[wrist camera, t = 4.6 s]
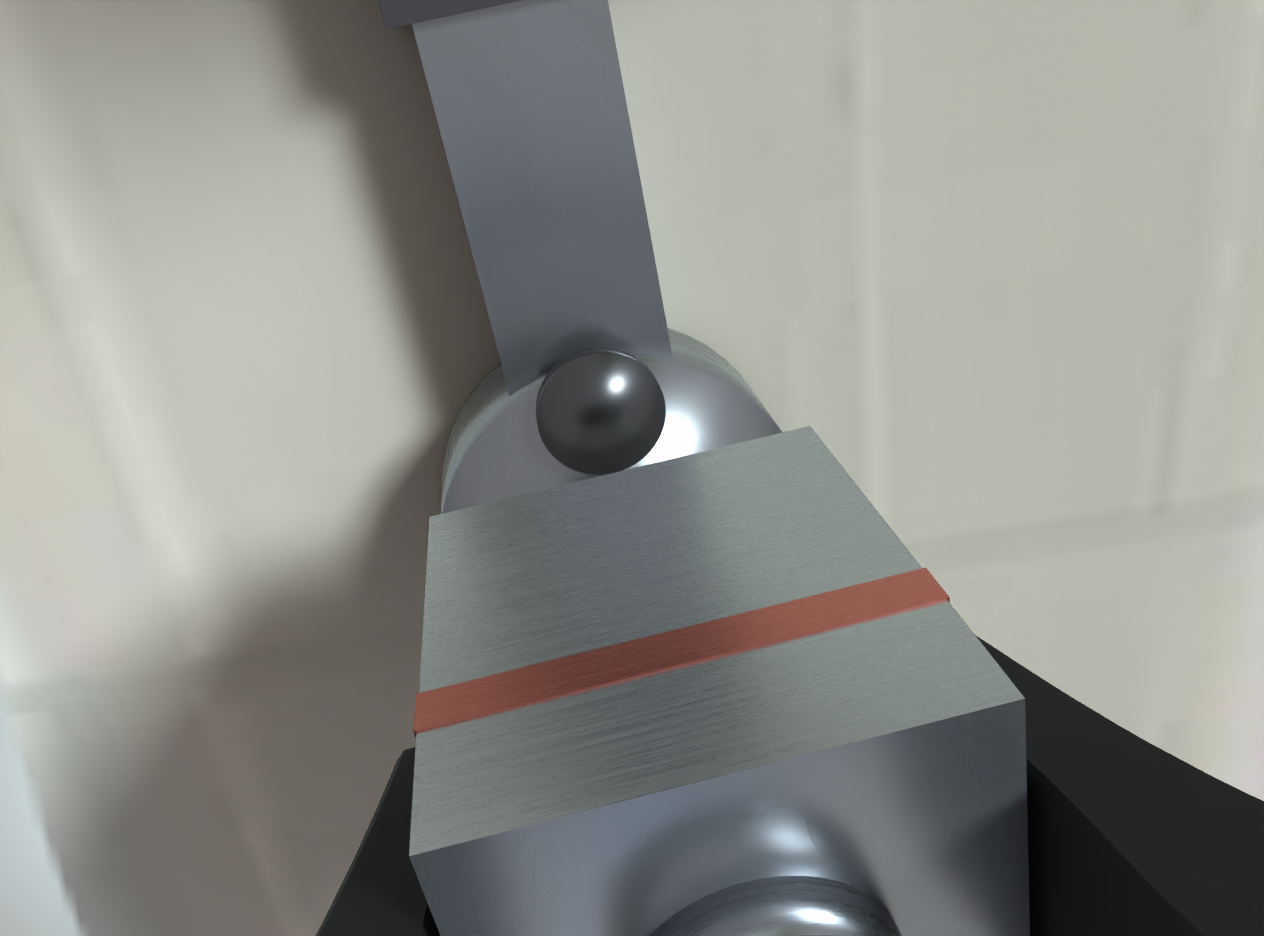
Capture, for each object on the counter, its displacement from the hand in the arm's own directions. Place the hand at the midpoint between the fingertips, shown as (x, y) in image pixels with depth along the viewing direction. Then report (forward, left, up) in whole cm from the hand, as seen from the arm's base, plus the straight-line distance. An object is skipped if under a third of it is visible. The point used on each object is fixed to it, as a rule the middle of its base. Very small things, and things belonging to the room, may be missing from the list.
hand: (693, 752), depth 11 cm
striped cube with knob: (0, 0, -2) cm, 2 cm away
